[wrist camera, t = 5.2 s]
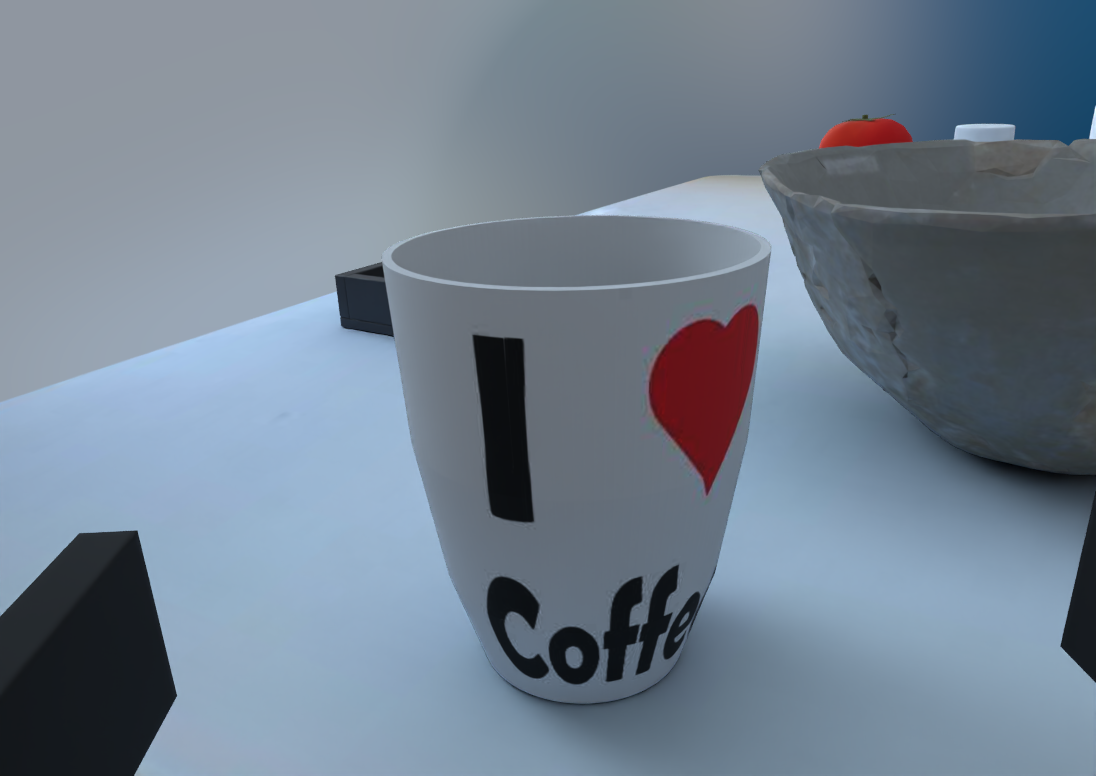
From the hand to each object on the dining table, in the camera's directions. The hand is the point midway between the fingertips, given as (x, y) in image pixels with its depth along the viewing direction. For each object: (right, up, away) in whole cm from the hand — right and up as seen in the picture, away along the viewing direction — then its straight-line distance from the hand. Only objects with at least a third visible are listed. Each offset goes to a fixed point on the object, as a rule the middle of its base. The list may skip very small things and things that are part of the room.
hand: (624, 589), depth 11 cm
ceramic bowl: (+18, +1, +21) cm, 28 cm away
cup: (0, -4, +10) cm, 10 cm away
